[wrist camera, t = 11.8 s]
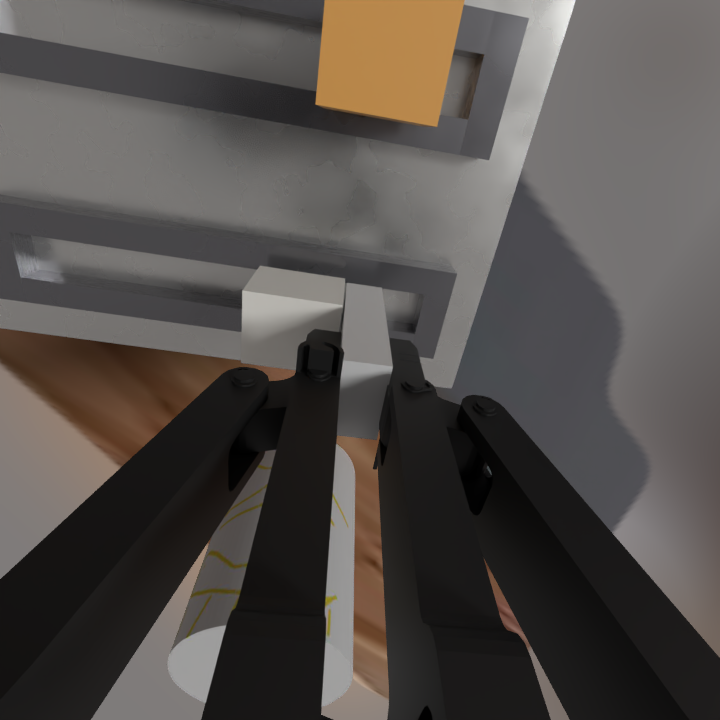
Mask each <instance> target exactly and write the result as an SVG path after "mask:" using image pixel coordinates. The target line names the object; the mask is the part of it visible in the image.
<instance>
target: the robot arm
mask: <svg viewBox="0 0 720 720" xmlns="http://www.w3.org/2000/svg"><path fill="white" fill-rule="evenodd" d="M379 430H380V440H379V444H378V449H377V453H376V457H375V462H374V466H373V469H377V466H378V480H379V500H380V520H381V539H382V559H383V579H384V599H385V618H386V638H387V658H388V678H389V711H388V719H387V720H551V719H550V716H549V713H548V710H547V707H546V704H545V701H544V698H543V695H542V691H541V688H540V685H539V682H538V679H537V676H536V673H535V669H534V666H533V663H532V660H531V657H530V655H529V652H528V650H527V647H526V645H525V643H524V641H523V640H522V639H521V638H520V636H519V635H518V634H517V633H514V632H511V631H508V630H507V629H506V628H505V627H504V625H503V623H502V620H501V618H500V615H499V611H498V607H497V604H496V600H495V597H494V593H493V590H492V586H491V583H490V579H489V576H488V572H487V569H486V565H485V562H484V559H485V561H486V563H487V565H488V566H489V568H490V570H491V572H492V574H493V576H494V578H495V580H496V581H497V583H498V585H499V587H500V589H501V591H502V593H503V595H504V596H505V598H506V600H507V602H508V604H509V606H510V608H511V610H512V612H513V613H514V615H515V617H516V619H517V621H518V623H519V625H520V627H521V628H522V630H523V632H524V634H525V636H526V638H527V640H528V642H529V644H530V645H531V647H532V649H533V651H534V653H535V655H536V656H537V659H538V660H539V662H540V664H541V666H542V668H543V670H544V672H545V674H546V676H547V677H548V679H549V681H550V683H551V685H552V687H553V689H554V691H555V692H556V694H557V696H558V698H559V700H560V702H561V704H562V706H563V708H564V709H565V711H566V713H567V715H568V717H569V719H570V720H720V658H719V657H718V655H717V654H716V653H715V652H714V651H713V650H712V649H711V647H710V646H709V645H708V644H707V643H706V642H705V640H704V639H703V638H702V637H701V636H700V635H699V634H698V632H697V631H696V630H695V629H694V628H693V626H692V625H691V624H690V623H689V622H688V621H687V620H686V618H685V617H684V616H683V615H682V614H681V612H680V611H679V610H678V609H677V608H676V607H675V606H674V604H673V603H672V602H671V601H670V600H669V599H668V597H667V596H666V595H665V594H664V593H663V592H662V590H661V589H660V588H659V587H658V586H657V585H656V584H655V582H654V581H653V580H652V579H651V578H650V576H649V575H648V574H647V573H646V572H645V571H644V570H643V568H642V567H641V566H640V565H639V564H638V563H637V561H636V560H635V559H634V558H633V557H632V556H631V554H629V552H628V551H627V550H626V549H625V547H624V546H623V545H622V544H621V543H620V542H619V541H618V539H617V538H616V537H615V536H614V535H613V534H612V532H611V531H610V530H609V529H608V528H607V527H606V525H605V524H604V523H603V522H602V521H601V520H600V518H599V517H598V516H597V515H596V514H595V513H594V511H593V510H592V509H591V508H590V507H589V506H588V504H587V503H586V502H585V501H584V500H583V499H582V498H581V496H580V495H579V494H578V493H577V492H576V491H575V489H574V488H573V487H572V486H571V485H570V484H569V482H568V481H567V480H566V479H565V478H564V477H563V475H562V474H561V473H560V472H559V471H558V470H557V468H556V467H555V466H554V465H553V464H552V463H551V462H550V460H549V459H548V458H547V457H546V456H545V455H544V453H543V452H542V451H541V450H540V449H539V448H538V446H537V445H536V444H535V443H534V442H533V441H532V439H531V438H530V437H529V436H528V435H527V434H526V432H525V431H524V430H523V429H522V428H521V427H520V426H519V424H518V423H517V422H516V421H515V420H514V419H513V417H512V416H511V415H510V414H509V413H508V412H507V410H506V409H505V408H504V407H503V406H502V405H500V404H499V403H498V402H496V401H494V400H492V399H491V398H488V397H485V396H479V395H471V396H466V397H465V398H463V399H462V402H461V405H459V404H455V403H452V402H449V401H446V400H444V399H441V398H440V397H438V396H437V393H436V389H435V388H434V386H433V384H431V383H430V382H429V381H428V380H426V379H425V377H424V373H423V369H422V365H421V363H420V358H419V354H418V350H417V347H416V346H415V345H414V344H413V343H412V342H411V341H409V340H402V339H395V338H389V335H388V328H387V320H386V313H385V306H384V299H383V292H382V288H381V287H374V286H367V285H360V284H353V283H347V285H346V292H345V299H344V306H343V313H342V321H341V328H340V332H335V331H328V330H320V329H314V330H312V331H311V332H310V333H309V334H307V338H306V341H304V342H302V343H300V345H299V346H298V351H297V363H296V373H295V375H294V376H292V377H290V378H288V379H285V380H279V381H269V379H268V376H267V375H266V374H265V373H264V372H262V371H260V370H257V369H255V368H249V367H239V368H234V369H231V370H228V371H226V372H225V373H223V374H222V375H221V376H219V377H218V378H217V379H216V380H215V381H214V382H213V383H212V384H211V385H210V386H209V387H208V388H207V389H205V390H204V391H203V392H202V393H201V394H200V395H199V396H198V397H197V398H196V399H195V400H194V401H192V402H191V403H190V404H189V405H188V406H187V407H186V408H185V409H184V410H183V411H182V412H181V413H179V414H178V415H177V416H176V417H175V418H174V419H173V420H172V421H171V422H170V423H169V424H168V425H167V426H165V427H164V428H163V429H162V430H161V431H160V432H159V433H158V434H157V435H156V436H155V437H154V438H152V439H151V440H150V441H149V442H148V443H147V444H146V445H145V446H144V447H143V448H142V449H141V450H140V451H138V452H137V453H136V454H135V455H134V456H133V457H132V458H131V459H130V460H129V461H128V462H127V463H125V464H124V465H123V466H122V467H121V468H120V469H119V470H118V471H117V472H116V473H115V474H114V475H113V476H112V477H110V478H109V479H108V480H107V481H106V482H105V483H104V484H103V485H102V486H101V487H100V488H99V489H97V491H95V492H94V493H93V494H92V495H91V496H90V497H89V498H88V499H87V500H85V502H83V503H82V504H81V505H80V506H79V507H78V508H77V509H76V510H75V511H74V512H73V513H72V514H70V515H69V516H68V517H67V518H66V519H65V520H64V521H63V522H62V523H61V524H60V525H58V527H57V528H55V529H54V530H53V531H52V532H51V533H50V534H49V535H48V536H47V537H46V538H44V539H43V540H42V541H41V542H40V543H39V544H38V545H37V546H36V547H35V548H34V549H33V550H31V551H30V552H29V553H28V554H27V555H26V556H25V557H24V558H23V559H22V560H21V561H20V562H19V563H17V565H15V566H14V567H13V568H12V569H11V570H10V571H9V572H8V573H7V574H6V575H5V576H3V577H2V578H1V579H0V720H91V718H92V717H93V715H94V714H95V712H96V711H97V709H98V708H99V706H100V705H101V703H102V702H103V700H104V699H105V697H106V696H107V694H108V692H109V691H110V690H111V688H112V687H113V685H114V684H115V682H116V680H117V679H118V678H119V676H120V674H121V673H122V671H123V670H124V669H125V667H126V665H127V664H128V662H129V661H130V659H131V658H132V656H133V655H134V653H135V652H136V650H137V649H138V647H139V646H140V644H141V643H142V641H143V640H144V638H145V637H146V635H147V634H148V632H149V631H150V629H151V628H152V626H153V624H154V623H155V622H156V620H157V618H158V617H159V615H160V614H161V612H162V611H163V609H164V608H165V606H166V605H167V603H168V602H169V600H170V599H171V597H172V596H173V594H174V593H175V591H176V590H177V588H178V587H179V585H180V584H181V582H182V581H183V579H184V577H185V576H186V575H187V573H188V572H189V570H190V568H191V567H192V565H193V564H194V562H195V561H196V559H197V558H198V556H199V555H200V553H201V552H202V550H203V549H204V547H205V546H206V544H207V543H208V541H209V540H210V538H211V537H212V535H213V534H214V532H215V531H216V529H217V528H218V526H219V525H220V523H221V522H222V520H223V518H224V517H225V515H226V514H227V512H228V511H229V509H230V508H231V506H232V505H233V503H234V502H235V500H236V499H237V497H238V496H239V494H240V493H241V491H242V490H243V488H244V487H245V485H246V484H247V482H248V481H249V479H250V478H251V476H252V475H253V473H254V472H255V470H256V468H257V467H258V465H259V464H260V462H261V461H262V459H263V458H264V455H265V451H270V450H276V452H275V456H274V460H273V464H272V468H271V472H270V476H269V480H268V484H267V488H266V492H265V496H264V500H263V504H262V508H261V512H260V516H259V520H258V524H257V528H256V532H255V536H254V540H253V544H252V548H251V552H250V556H249V559H248V563H247V567H246V571H245V575H244V579H243V583H242V587H241V591H240V595H239V599H238V602H237V605H236V608H235V609H233V610H232V611H231V614H230V616H229V618H228V622H227V625H226V628H225V632H224V635H223V639H222V643H221V647H220V650H219V654H218V658H217V662H216V666H215V669H214V673H213V677H212V681H211V685H210V688H209V692H208V696H207V700H206V704H205V708H204V711H203V715H202V719H201V720H333V719H330V718H327V717H325V716H323V715H321V707H322V691H323V675H324V659H325V643H326V617H325V600H326V585H327V571H328V556H329V541H330V527H331V512H332V497H333V483H334V468H335V453H336V439H337V435H339V436H347V437H356V438H365V439H373V440H377V436H378V432H379ZM487 466H489V468H490V470H491V473H492V475H491V474H490V473H489V471H488V470H487ZM483 557H484V558H483Z"/></svg>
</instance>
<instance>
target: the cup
mask: <svg viewBox="0 0 720 720" xmlns="http://www.w3.org/2000/svg"><path fill="white" fill-rule="evenodd" d="M275 452H276V450H270V451H265V455H264V458H263V459H262V461H261V462H260V464H259V465H258V467H257V468H256V470H255V472H254V473H253V475H252V476H251V478H250V479H249V481H248V482H247V484H246V485H245V487H244V488H243V490H242V491H241V493H240V494H239V496H238V497H237V499H236V500H235V502H234V503H233V505H232V506H231V508H230V509H229V511H228V512H227V514H226V515H225V517H224V518H223V520H222V522H221V523H220V525H219V526H218V528H217V529H216V531H215V532H214V534H213V535H212V538H211V541H210V544H209V546H208V549H207V552H206V555H205V558H204V560H203V563H202V566H201V569H200V572H199V574H198V577H197V580H196V583H195V585H194V588H193V591H192V594H191V596H190V599H189V602H188V605H187V608H186V610H185V613H184V616H183V619H182V622H181V624H180V627H179V630H178V633H177V635H176V638H175V641H174V644H173V647H172V649H171V652H170V655H169V658H168V671H169V673H170V676H171V678H172V679H173V681H174V682H175V683H176V684H177V685H178V686H179V687H180V688H181V689H182V690H183V691H185V692H186V693H187V694H189V695H191V696H192V697H194V698H196V699H198V700H200V701H202V702H204V703H206V700H207V696H208V692H209V688H210V685H211V681H212V677H213V673H214V669H215V666H216V662H217V658H218V654H219V650H220V647H221V643H222V639H223V635H224V632H225V628H226V625H227V622H228V618H229V616H230V614H231V611H232V610H233V609H235V608H236V605H237V602H238V599H239V595H240V591H241V587H242V583H243V579H244V575H245V571H246V567H247V563H248V559H249V556H250V552H251V548H252V544H253V540H254V536H255V532H256V528H257V524H258V520H259V516H260V512H261V508H262V504H263V500H264V496H265V492H266V488H267V484H268V480H269V476H270V472H271V468H272V464H273V460H274V456H275ZM354 527H355V470H354V466H353V463H352V461H351V459H350V458H349V456H348V455H347V453H346V452H345V451H344V450H343V449H342V448H341V447H340V446H339V445H337V444H336V453H335V468H334V483H333V497H332V512H331V527H330V541H329V556H328V571H327V585H326V600H325V617H326V643H325V659H324V675H323V691H322V707H323V706H325V705H328V704H330V703H331V702H333V701H335V700H337V699H338V698H339V697H341V696H342V695H343V694H344V693H345V692H346V690H347V689H348V688H349V686H350V684H351V682H352V677H353V608H354Z"/></svg>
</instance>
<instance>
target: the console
mask: <svg viewBox="0 0 720 720" xmlns="http://www.w3.org/2000/svg"><path fill="white" fill-rule="evenodd" d="M324 3H325V0H0V328H3V329H11V330H18V331H26V332H33V333H41V334H48V335H56V336H63V337H71V338H78V339H85V340H93V341H100V342H108V343H115V344H123V345H130V346H138V347H145V348H153V349H160V350H168V351H175V352H183V353H190V354H198V355H205V356H213V357H220V358H227V359H235V360H241V335H242V290H243V289H244V287H245V286H246V285H247V283H248V282H249V280H250V279H251V278H252V276H253V275H254V273H255V272H256V271H257V269H258V268H259V266H266V267H272V268H279V269H285V270H292V271H299V272H305V273H312V274H318V275H325V276H332V277H338V278H345V288H344V299H345V292H346V285H347V283H353V284H360V285H367V286H374V287H381V288H382V292H383V299H384V306H385V313H386V320H387V328H388V335H389V338H395V339H402V340H409V341H411V342H412V343H413V344H414V345H415V346H416V347H417V350H418V354H419V358H420V363H421V365H422V369H423V373H424V377H425V379H426V380H428V381H429V382H430V383H431V384H433V386H437V387H444V388H452V386H453V383H454V380H455V376H456V373H457V370H458V367H459V364H460V361H461V358H462V354H463V351H464V348H465V345H466V342H467V339H468V336H469V333H470V329H471V326H472V323H473V320H474V317H475V314H476V311H477V308H478V304H479V301H480V298H481V295H482V292H483V289H484V286H485V282H486V279H487V276H488V273H489V270H490V267H491V264H492V261H493V257H494V254H495V251H496V248H497V245H498V242H499V239H500V235H501V232H502V229H503V226H504V223H505V220H506V217H507V214H508V210H509V207H510V204H511V201H512V198H513V195H514V192H515V189H516V185H517V182H518V179H519V176H520V173H521V170H522V166H523V163H524V160H525V157H526V154H527V151H528V148H529V144H530V141H531V138H532V135H533V132H534V129H535V126H536V123H537V120H538V116H539V113H540V110H541V107H542V104H543V101H544V98H545V95H546V91H547V88H548V85H549V82H550V79H551V76H552V73H553V69H554V66H555V63H556V60H557V57H558V54H559V51H560V48H561V44H562V41H563V38H564V35H565V32H566V29H567V26H568V23H569V19H570V16H571V13H572V10H573V7H574V4H575V0H465V1H464V6H463V10H462V15H461V20H460V24H459V29H458V33H457V38H456V43H455V47H454V52H453V56H452V61H451V66H450V70H449V75H448V79H447V84H446V88H445V93H444V98H443V102H442V107H441V111H440V116H439V121H438V125H437V127H422V126H417V125H412V124H406V123H401V122H395V121H390V120H384V119H379V118H373V117H368V116H363V115H357V114H352V113H346V112H341V111H335V110H330V109H324V108H322V107H320V106H318V105H316V104H315V103H316V92H317V81H318V70H319V59H320V47H321V36H322V25H323V14H324ZM344 299H343V306H344ZM342 313H343V308H342ZM341 321H342V315H341ZM340 328H341V322H340ZM340 328H339V332H340Z"/></svg>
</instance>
